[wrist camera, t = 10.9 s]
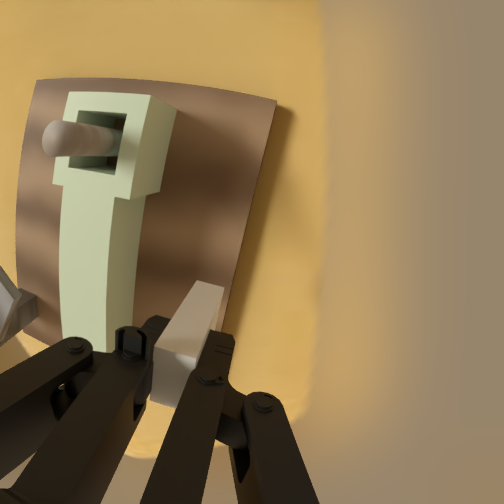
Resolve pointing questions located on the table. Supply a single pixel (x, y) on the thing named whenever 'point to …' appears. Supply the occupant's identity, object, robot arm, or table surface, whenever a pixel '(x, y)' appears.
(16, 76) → the table surface
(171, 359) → the robot arm
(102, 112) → the link
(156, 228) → the pintle board
